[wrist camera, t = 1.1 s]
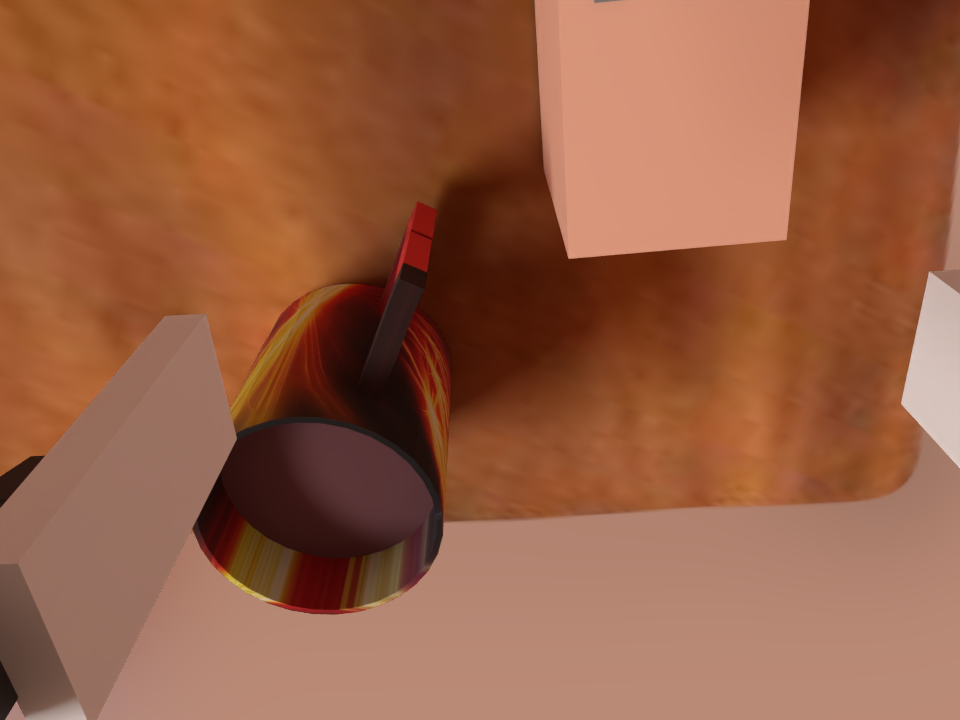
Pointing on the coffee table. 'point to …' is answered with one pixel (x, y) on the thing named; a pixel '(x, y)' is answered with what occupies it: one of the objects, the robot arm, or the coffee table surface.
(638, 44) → the stub
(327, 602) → the mug
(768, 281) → the coffee table surface
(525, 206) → the coffee table surface
